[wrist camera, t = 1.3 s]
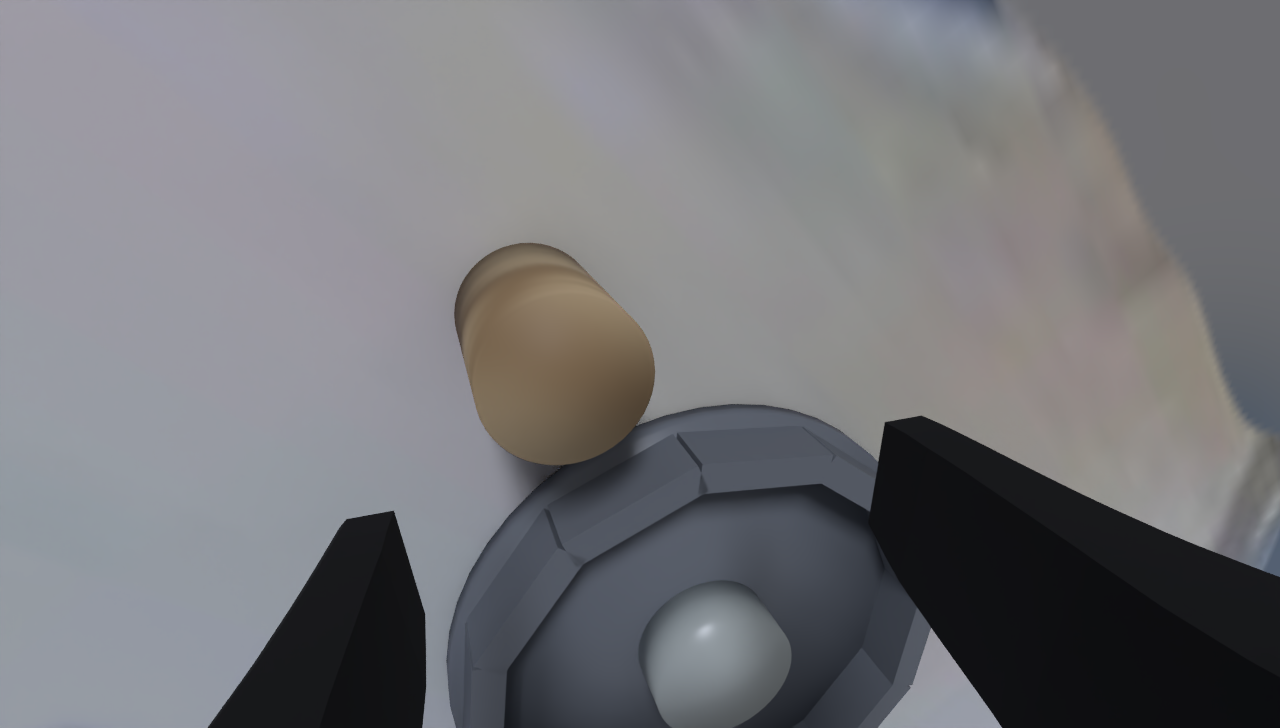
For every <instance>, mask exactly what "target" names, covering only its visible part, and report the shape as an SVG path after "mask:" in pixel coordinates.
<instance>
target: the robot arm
mask: <svg viewBox="0 0 1280 728" xmlns="http://www.w3.org/2000/svg"><path fill="white" fill-rule="evenodd" d="M868 524H869V526H870V528H871V530H872V532H873V534H874V535H875V537H876V539H877V541H878V543H879V545H880V547H881V549H882V551H883V553H884V555H885V557H886V559H887V561H888V562H889V564H890V566H891V568H892V570H893V571H894V573H895V575H896V577H897V579H898V580H899V582H900V583H901V585H902V586H903V588H904V589H905V591H906V592H907V594H908V595H909V597H910V598H911V599H912V601H913V602H914V604H915V605H916V607H917V608H918V609H919V611H920V612H921V614H922V615H923V617H924V618H925V619H926V621H927V622H928V624H929V625H930V627H931V628H932V629H933V631H934V632H935V634H936V635H937V636H938V638H939V639H940V641H941V642H942V643H943V645H944V646H945V648H946V649H947V650H948V652H949V653H950V655H951V656H952V657H953V659H954V660H955V661H956V663H957V664H958V666H959V667H960V668H961V670H962V671H963V673H964V674H965V675H966V677H967V678H968V680H969V681H970V682H971V684H972V685H973V687H974V688H975V689H976V691H977V692H978V694H979V695H980V696H981V698H982V699H983V701H984V702H985V703H986V705H987V706H988V708H989V709H990V710H991V712H992V713H993V715H994V716H995V718H996V719H997V721H998V722H999V724H1000V725H1001V727H1002V728H1280V577H1278V576H1275V575H1273V574H1270V573H1267V572H1264V571H1262V570H1259V569H1257V568H1254V567H1251V566H1249V565H1246V564H1244V563H1241V562H1238V561H1236V560H1233V559H1231V558H1228V557H1225V556H1223V555H1220V554H1218V553H1215V552H1212V551H1210V550H1207V549H1205V548H1202V547H1199V546H1197V545H1195V544H1192V543H1190V542H1187V541H1185V540H1183V539H1180V538H1178V537H1175V536H1173V535H1171V534H1168V533H1166V532H1164V531H1161V530H1159V529H1157V528H1155V527H1152V526H1150V525H1148V524H1146V523H1143V522H1141V521H1139V520H1137V519H1134V518H1132V517H1130V516H1128V515H1126V514H1123V513H1121V512H1119V511H1117V510H1114V509H1112V508H1110V507H1108V506H1106V505H1104V504H1101V503H1099V502H1097V501H1095V500H1093V499H1091V498H1089V497H1087V496H1085V495H1082V494H1080V493H1078V492H1076V491H1074V490H1072V489H1070V488H1068V487H1066V486H1064V485H1062V484H1060V483H1058V482H1056V481H1054V480H1052V479H1050V478H1048V477H1046V476H1044V475H1042V474H1040V473H1038V472H1036V471H1034V470H1032V469H1030V468H1028V467H1026V466H1024V465H1022V464H1020V463H1018V462H1016V461H1014V460H1012V459H1010V458H1008V457H1006V456H1004V455H1002V454H1000V453H998V452H996V451H994V450H992V449H990V448H988V447H986V446H984V445H982V444H980V443H978V442H976V441H974V440H972V439H970V438H968V437H966V436H964V435H962V434H960V433H958V432H956V431H954V430H952V429H950V428H948V427H946V426H944V425H942V424H939V423H937V422H935V421H933V420H930V419H928V418H926V417H923V416H917V417H912V418H906V419H901V420H895V421H890V422H885V426H884V432H883V437H882V443H881V449H880V455H879V461H878V467H877V473H876V479H875V485H874V491H873V497H872V503H871V509H870V515H869V521H868ZM425 693H426V635H425V612H424V609H423V606H422V602H421V599H420V596H419V592H418V589H417V586H416V583H415V579H414V576H413V573H412V569H411V566H410V563H409V559H408V556H407V553H406V549H405V546H404V543H403V540H402V536H401V533H400V530H399V526H398V523H397V520H396V516H395V513H394V511H390V512H384V513H379V514H373V515H368V516H362V517H357V518H351V519H346V521H345V522H344V523H343V524H342V525H341V527H340V528H339V530H338V531H337V533H336V535H335V536H334V538H333V540H332V541H331V543H330V545H329V546H328V548H327V550H326V551H325V553H324V555H323V556H322V558H321V560H320V561H319V563H318V565H317V566H316V568H315V570H314V571H313V573H312V574H311V576H310V578H309V579H308V581H307V583H306V584H305V586H304V587H303V589H302V591H301V592H300V594H299V595H298V597H297V599H296V600H295V602H294V603H293V605H292V607H291V608H290V610H289V611H288V613H287V614H286V616H285V617H284V619H283V620H282V622H281V623H280V625H279V626H278V628H277V629H276V631H275V632H274V634H273V635H272V637H271V638H270V640H269V641H268V643H267V644H266V646H265V647H264V649H263V651H262V652H261V654H260V655H259V657H258V658H257V660H256V661H255V663H254V664H253V665H252V667H251V668H250V670H249V671H248V673H247V674H246V676H245V677H244V678H243V680H242V681H241V683H240V684H239V685H238V687H237V688H236V689H235V691H234V692H233V694H232V695H231V696H230V698H229V699H228V700H227V702H226V703H225V705H224V706H223V707H222V709H221V710H220V711H219V713H218V714H217V716H216V717H215V718H214V720H213V721H212V722H211V724H210V725H209V727H208V728H422V724H423V714H424V704H425Z"/></svg>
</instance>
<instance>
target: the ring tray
mask: <svg viewBox="0 0 1280 728" xmlns="http://www.w3.org/2000/svg"><path fill="white" fill-rule="evenodd" d="M877 467H878V462H877V461H876V460H875V459H874V457H873V456H872V455H871V454H869V453H868V452H867V451H866V450H864V449H863V448H862V447H860V446H859V445H858V444H857V443H855V442H854V441H853V440H852V439H850V438H849V437H848V436H846V435H845V434H844V433H843V432H841V431H840V430H838V429H836V428H835V427H833V426H831V425H829V424H827V423H825V422H823V421H821V420H819V419H818V418H815V417H812V416H809V415H806V414H803V413H800V412H797V411H794V410H790V409H784V408H778V407H772V406H766V405H743V404H729V405H720V406H711V407H701V408H696V409H692V410H687V411H683V412H679V413H674V414H670V415H666V416H663V417H660V418H657V419H654V420H652V421H649V422H646V423H643V424H641V425H638V426H635V427H634V428H633V429H632V431H631V432H630V433H629V434H628V435H627V436H626V437H625V438H624V439H623V440H621V441H620V442H619V443H618V444H616V445H615V446H614V447H612V448H611V449H609V450H607V451H606V452H604V453H602V454H600V455H598V456H596V457H594V458H591V459H588V460H585V461H582V462H578V463H574V464H566V465H564V466H563V467H562V468H561V469H559V470H558V471H557V472H556V473H555V474H553V475H552V476H551V477H550V478H548V479H547V480H546V481H545V482H543V483H542V484H541V485H540V486H538V487H537V488H536V489H535V490H534V491H533V492H532V493H531V494H530V495H529V496H528V497H527V498H526V499H525V500H524V501H523V502H522V503H521V504H520V505H519V506H518V507H517V508H516V509H515V510H514V511H513V512H512V513H511V514H510V515H509V516H508V518H507V519H506V520H505V521H504V523H503V524H502V525H501V527H500V528H499V529H498V530H497V532H496V533H495V534H494V536H493V537H492V538H491V539H490V541H489V542H488V543H487V545H486V547H485V548H484V550H483V552H482V553H481V555H480V557H479V558H478V560H477V562H476V563H475V565H474V567H473V568H472V570H471V572H470V573H469V576H468V578H467V580H466V583H465V585H464V587H463V590H462V592H461V594H460V597H459V599H458V601H457V605H456V608H455V612H454V616H453V620H452V624H451V627H450V631H449V640H448V650H447V660H446V661H447V674H448V686H449V697H450V707H451V710H452V714H453V718H454V721H455V725H456V728H877V727H878V726H879V725H880V724H881V723H882V721H883V720H884V719H885V718H886V717H887V715H888V714H889V713H890V712H891V711H892V709H893V708H894V707H895V706H896V705H897V703H898V702H899V701H900V700H901V699H902V697H903V696H904V695H905V694H906V693H907V691H908V690H909V689H910V686H909V685H912V684H913V681H914V678H915V675H916V672H917V669H918V666H919V662H920V659H921V656H922V653H923V650H924V647H925V644H926V641H927V638H928V635H929V632H930V629H931V627H930V625H929V624H928V622H927V621H926V619H925V618H924V617H923V615H922V614H921V612H920V611H919V609H918V608H917V607H916V605H915V604H914V602H913V601H912V599H911V598H910V597H909V595H908V594H907V592H906V591H905V589H904V588H903V586H902V585H901V583H900V582H899V580H898V579H897V577H896V575H895V573H894V571H893V570H892V568H891V566H890V564H889V562H888V561H887V559H886V557H885V555H884V553H883V551H882V549H881V547H880V545H879V543H878V541H877V539H876V537H875V535H874V534H873V532H872V530H871V528H870V526H869V524H868V521H869V515H870V509H871V503H872V497H873V491H874V485H875V479H876V473H877Z"/></svg>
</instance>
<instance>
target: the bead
mask: <svg viewBox="0 0 1280 728" xmlns="http://www.w3.org/2000/svg"><path fill="white" fill-rule="evenodd" d="M454 316H455V326H456V331H457V335H458V338H459V342H460V346H461V350H462V354H463V358H464V362H465V366H466V370H467V374H468V378H469V382H470V385H471V389H472V393H473V397H474V401H475V405H476V409H477V412H478V415H479V417H480V420H481V422H482V424H483V426H484V427H485V429H486V431H487V432H488V433H489V435H490V436H491V437H492V438H493V439H494V440H495V441H496V442H497V443H498V444H499V445H500V446H501V447H502V448H504V449H505V450H506V451H508V452H509V453H511V454H513V455H515V456H517V457H518V458H521V459H524V460H526V461H529V462H533V463H538V464H545V465H566V464H574V463H578V462H582V461H585V460H588V459H591V458H594V457H596V456H598V455H600V454H602V453H604V452H606V451H607V450H609V449H611V448H612V447H614V446H615V445H616V444H618V443H619V442H620V441H621V440H623V439H624V438H625V437H626V436H627V435H628V434H629V433H630V432H631V431H632V429H633V428H634V427H635V426H636V424H637V423H638V422H639V420H640V419H641V417H642V415H643V414H644V412H645V410H646V408H647V406H648V404H649V401H650V398H651V395H652V391H653V386H654V378H655V366H654V358H653V353H652V349H651V347H650V344H649V341H648V339H647V337H646V336H645V334H644V332H643V330H642V329H641V328H640V326H639V325H638V324H637V323H636V322H635V321H634V319H633V318H632V317H631V316H630V315H629V314H628V313H627V312H626V311H625V310H624V309H623V308H622V307H621V306H620V305H619V304H618V303H617V302H616V301H615V300H614V299H613V298H612V297H611V296H610V295H609V294H608V293H607V292H606V291H605V290H604V289H603V288H602V287H601V286H600V285H599V284H598V283H597V282H596V281H595V280H594V279H593V278H592V277H591V276H590V275H589V274H588V273H587V272H586V271H585V270H584V269H583V268H582V267H581V266H580V265H579V264H578V263H577V262H576V261H575V260H574V259H573V258H572V257H570V256H569V255H568V254H566V253H564V252H562V251H561V250H559V249H556V248H554V247H551V246H547V245H543V244H536V243H520V244H514V245H510V246H506V247H503V248H501V249H498V250H496V251H494V252H492V253H490V254H489V255H487V256H485V257H484V258H483V259H482V260H480V261H479V262H478V263H477V264H476V265H475V266H474V267H473V268H472V269H471V270H470V272H469V273H468V274H467V276H466V277H465V279H464V280H463V282H462V284H461V286H460V289H459V291H458V294H457V298H456V302H455V311H454Z"/></svg>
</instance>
